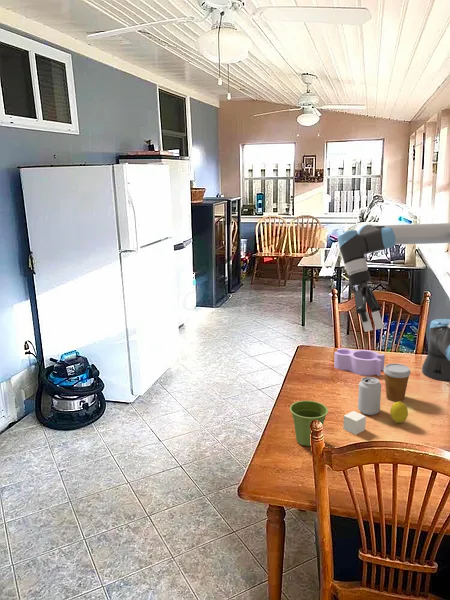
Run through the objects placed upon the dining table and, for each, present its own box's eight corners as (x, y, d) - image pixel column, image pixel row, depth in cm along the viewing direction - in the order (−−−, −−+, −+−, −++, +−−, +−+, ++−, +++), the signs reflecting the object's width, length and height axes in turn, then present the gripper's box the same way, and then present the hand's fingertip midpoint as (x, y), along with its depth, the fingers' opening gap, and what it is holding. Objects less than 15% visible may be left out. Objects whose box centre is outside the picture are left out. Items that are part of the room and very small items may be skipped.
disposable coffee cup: (414, 400, 183) (416, 370, 180) (392, 405, 180) (394, 374, 177) (397, 390, 191) (399, 361, 188) (376, 394, 188) (378, 365, 185)
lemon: (408, 427, 164) (409, 405, 162) (390, 426, 165) (392, 404, 163) (405, 419, 169) (407, 398, 167) (388, 418, 170) (390, 397, 168)
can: (365, 404, 181) (366, 373, 178) (383, 411, 176) (385, 379, 173) (353, 411, 176) (355, 380, 173) (372, 418, 171) (374, 386, 168)
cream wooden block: (352, 424, 167) (353, 410, 166) (365, 430, 164) (365, 416, 162) (343, 429, 164) (343, 415, 163) (355, 435, 161) (356, 421, 159)
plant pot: (313, 455, 150) (314, 421, 147) (282, 442, 158) (282, 409, 155) (334, 439, 158) (335, 407, 155) (303, 427, 166) (303, 396, 163)
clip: (331, 370, 212) (331, 355, 211) (339, 360, 223) (340, 346, 221) (378, 378, 203) (379, 362, 201) (385, 367, 214) (386, 352, 212)
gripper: (359, 277, 192) (374, 330, 189) (336, 274, 171) (353, 334, 168) (377, 271, 188) (394, 325, 185) (356, 268, 167) (374, 329, 164)
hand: (374, 330), depth 176 cm, fingers open, 13 cm apart
